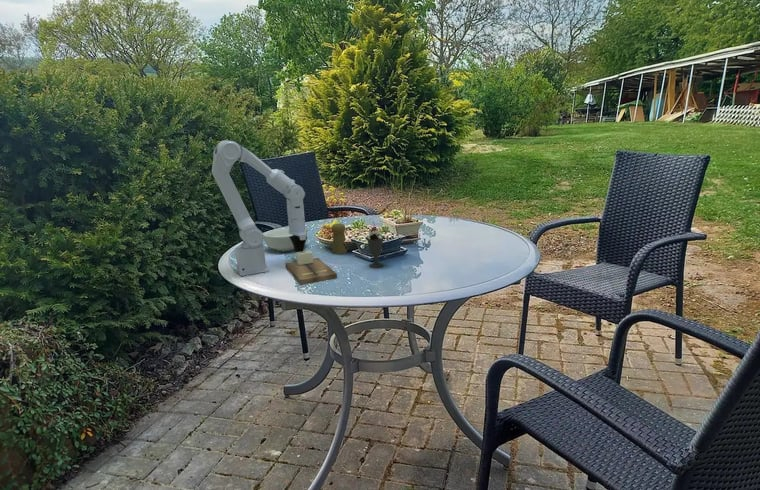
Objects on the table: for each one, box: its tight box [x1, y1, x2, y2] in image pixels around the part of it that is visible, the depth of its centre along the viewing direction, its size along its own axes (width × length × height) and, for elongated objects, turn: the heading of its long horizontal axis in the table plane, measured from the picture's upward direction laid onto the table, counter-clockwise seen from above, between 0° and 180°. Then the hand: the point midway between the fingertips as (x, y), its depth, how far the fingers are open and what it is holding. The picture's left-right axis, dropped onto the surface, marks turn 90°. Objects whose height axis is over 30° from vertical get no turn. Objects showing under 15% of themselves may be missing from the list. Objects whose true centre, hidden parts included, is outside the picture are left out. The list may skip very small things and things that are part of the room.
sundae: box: [364, 221, 386, 269], centre depth 152 cm, size 7×7×15 cm
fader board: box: [284, 257, 338, 286], centre depth 150 cm, size 12×20×2 cm, turn 25°
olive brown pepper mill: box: [331, 223, 348, 255], centre depth 171 cm, size 6×6×11 cm
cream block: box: [295, 249, 314, 265], centre depth 154 cm, size 5×3×4 cm, turn 115°
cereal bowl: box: [263, 227, 308, 252], centre depth 179 cm, size 17×17×7 cm
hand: (299, 255), depth 160 cm, fingers closed
